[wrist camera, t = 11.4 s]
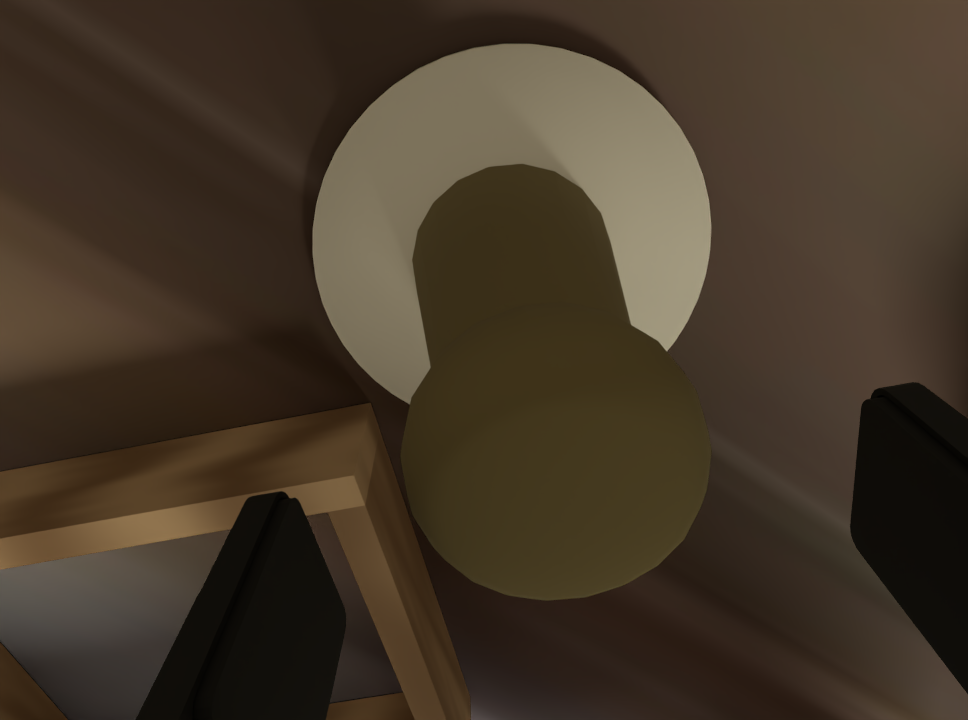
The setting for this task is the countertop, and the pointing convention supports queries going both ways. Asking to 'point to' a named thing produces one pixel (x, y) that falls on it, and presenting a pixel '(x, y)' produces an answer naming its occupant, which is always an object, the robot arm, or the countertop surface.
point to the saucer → (496, 142)
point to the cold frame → (215, 507)
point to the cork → (543, 398)
